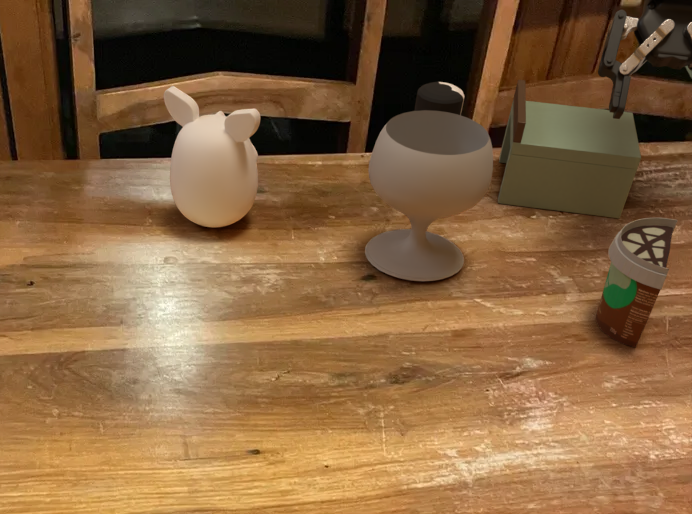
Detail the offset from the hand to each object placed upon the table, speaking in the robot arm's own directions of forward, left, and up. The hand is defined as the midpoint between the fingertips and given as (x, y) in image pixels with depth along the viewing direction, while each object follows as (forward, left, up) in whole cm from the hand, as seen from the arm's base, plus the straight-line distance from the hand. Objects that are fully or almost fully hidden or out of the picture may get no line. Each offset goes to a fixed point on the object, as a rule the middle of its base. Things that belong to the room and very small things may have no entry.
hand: (658, 120), depth 102 cm
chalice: (+23, +4, -17) cm, 29 cm away
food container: (0, +12, -17) cm, 21 cm away
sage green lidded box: (+5, -20, -17) cm, 27 cm away
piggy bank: (+49, +1, -17) cm, 52 cm away
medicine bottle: (+23, -17, -17) cm, 34 cm away
